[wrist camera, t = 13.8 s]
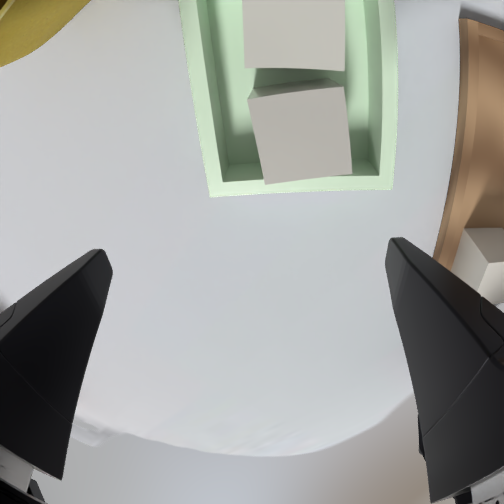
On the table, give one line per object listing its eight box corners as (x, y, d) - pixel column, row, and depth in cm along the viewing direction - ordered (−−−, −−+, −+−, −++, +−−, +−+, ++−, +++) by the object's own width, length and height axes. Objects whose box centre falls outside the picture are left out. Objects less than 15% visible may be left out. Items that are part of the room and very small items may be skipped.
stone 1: (487, 268, 21) (508, 301, 18) (450, 271, 21) (469, 307, 18) (501, 227, 19) (527, 259, 15) (463, 228, 19) (488, 263, 16)
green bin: (377, 168, 18) (392, 189, 15) (218, 175, 19) (209, 197, 16) (372, -21, 11) (390, -31, 9) (191, -13, 12) (175, -23, 10)
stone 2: (328, 65, 14) (344, 71, 11) (251, 63, 14) (244, 68, 11) (328, -4, 12) (344, -18, 8) (249, -6, 12) (241, -21, 9)
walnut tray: (495, 274, 22) (499, 282, 21) (425, 281, 23) (429, 289, 22) (540, 48, 10) (549, 50, 10) (458, 18, 11) (467, 18, 10)
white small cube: (337, 146, 17) (352, 173, 14) (267, 155, 17) (265, 184, 14) (328, 77, 14) (343, 86, 11) (253, 88, 15) (246, 99, 12)
